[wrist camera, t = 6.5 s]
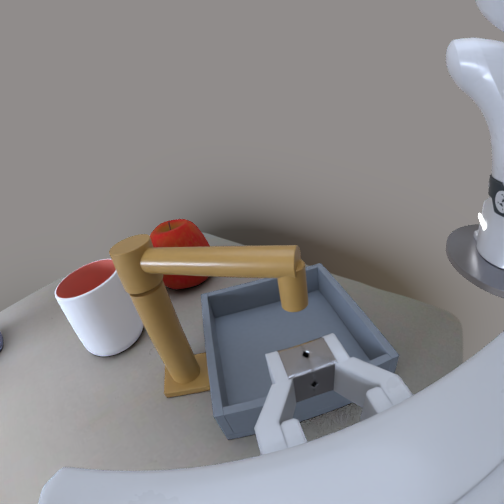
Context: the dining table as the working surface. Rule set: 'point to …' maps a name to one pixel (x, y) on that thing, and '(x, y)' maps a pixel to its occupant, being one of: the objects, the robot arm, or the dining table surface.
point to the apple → (179, 236)
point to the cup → (99, 308)
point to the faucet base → (171, 343)
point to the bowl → (1, 341)
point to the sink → (278, 344)
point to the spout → (211, 266)
